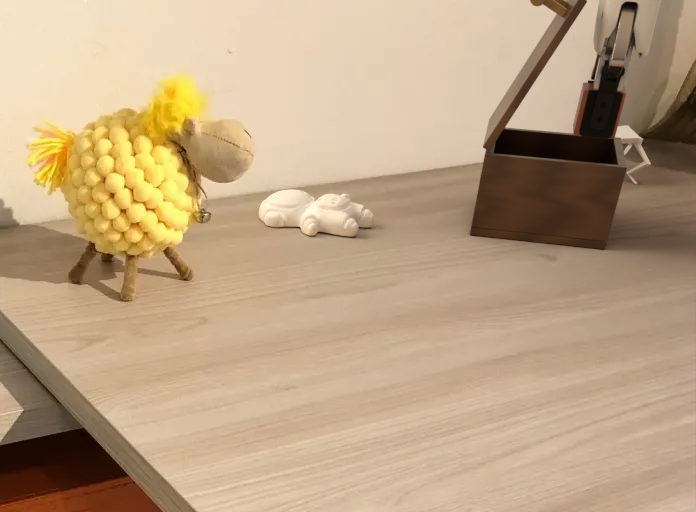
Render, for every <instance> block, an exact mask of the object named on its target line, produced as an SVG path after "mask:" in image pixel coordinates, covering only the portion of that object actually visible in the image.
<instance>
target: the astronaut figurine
mask: <svg viewBox="0 0 696 512" xmlns="http://www.w3.org/2000/svg"><path fill="white" fill-rule="evenodd" d="M258 218H259V220H260V221H261V222H263V223H264V225H266V226H267V227H270V228H284V227H288V228H290V227H292V228H294V227H295V228H296V227H297V228H300V230H301V232H302V233H303V234H305V235H307V236H310V237H311V236H312V237H313V236H316V235H317V233H326V234H331V235H335V236H342V237H355V236H356V235H357V233H358V232H359V228H372V227H373V225H374V222H375V215H374V213H373V212H372V211H371V209H368V208H366V206H365V205H364V204H360V203H356V202H354V201H352V196H351V195H350V194H347V193H342V194H341V195H340V194H337V193H326V194H323V195H321V196H320V197H318V198H317V199H315V197H314V196H311V195H310V194H309V193H308V192H307V191H304V190H301V189H294V188H293V189H283V190H278V191H275V192H274V193H272V194H270V195H269V196H268V197H267V198H266V199H263V201H262V202H261V203H260V206H259V209H258Z"/></svg>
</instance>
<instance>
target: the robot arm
mask: <svg viewBox="0 0 696 512" xmlns="http://www.w3.org/2000/svg"><path fill="white" fill-rule="evenodd" d="M661 3H662V0H598V5H597V10H596V17H595V24H594V32H593V41H592V42H593V48H594V51H595V53H596V55H595V59H594V63H593V66H592V70H591V75H590V80H589V79H588V80H587V83H594V84H593V88H592V90H589V92H588V96H587V101H586V105H585V109H584V113H583V117H582V121H581V125H580V130H579V134H580V135H581V136H587V137H598V138H611V137H612V135H613V132H614V128H615V124H616V120H617V117H618V113H619V109H620V105H621V101H622V97H623V93H622V91H623V87H625V83H626V78H627V74H628V70H629V66H630V62H631V57H632V54H633V50H635V52H636V53H637V56H638V58H639V59H642V60H643V59H645V58H646V57H647V56H648V55H649V53H650V50H651V45H652V42H653V41H652V40H653V37H654V31H655V27H656V24H657V20H658V16H659V11H660V8H661Z"/></svg>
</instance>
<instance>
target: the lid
mask: <svg viewBox="0 0 696 512" xmlns="http://www.w3.org/2000/svg"><path fill="white" fill-rule="evenodd" d="M529 2H530V3H531V5H532V6H533V7H540V6H545V7H546V8H548V9H549V10H550V11H552V12H553V13H554V14H555V15H554V17H553V19H552V20H551V22H550V24H549V25H548V26H547V28H546V30H544V33H543V34H542V36H541V37H540V39H539V41H538V42H537V44H536V45H535V47H534V49H533V50H532V52H531V53H530V54H529V56H528V58H527V60H526V61H525V62H524V64H523V66H522V67H521V69H520V70H519V72H518V74H517V75H516V76H515V77H514V80H513V81H512V83H511V85H510V86H509V87H508V88H507V90H506V92H505V93H504V95H503V97H502V99H501V100H500V101H499V103H498V105H497V106H496V108H495V110H494V111H493V113H492V114H491V115H490V117H489V118H488V123H487V128H486V132H485V136H484V140H483V146H482V148H483V149H484V150H485V151H486V150H488V151H490V149H491V148H492V146H493V145H494V143H495V142H496V140H497V139H498V137H499V136H500V134H501V133H502V131H503V130H504V128H507V125H508V124H509V122H510V120H511V119H512V117H513V116H514V114H515V113H516V111H517V110H518V108H519V107H520V105H521V104H522V102H523V101H524V99H525V98H526V96H527V95H528V93H529V91H530V90H531V89H532V87H533V85H535V83H536V81H537V79H538V78H539V77H540V75H541V73H542V72H543V70H544V68H545V67H546V65H547V64H548V62H549V61H550V59H551V58H552V56H553V55H554V54H555V52H556V51H557V49H558V47H559V46H560V44H561V43H562V41H563V39H565V37H566V36H567V34H568V32H569V30H570V29H571V27H572V26H573V24H574V23H575V22H576V20H577V18H578V17H579V15H580V14H581V12H582V11H583V9H584V8H585V6H586V4H587V3H588V0H529Z"/></svg>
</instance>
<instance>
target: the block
mask: <svg viewBox="0 0 696 512" xmlns="http://www.w3.org/2000/svg"><path fill="white" fill-rule="evenodd" d="M593 84H594V83H588V82H582V86H581V91H580V95H579V98H578V102H577V106H576V110H575V115H574V118H573V124H572V127H573V128H572V131H573V132H572V133H573V135H580V134H579V130H580V125H581V121H582V117H583V113H584V109H585V105H586V101H587V96H588V92H589V90H592V88H593ZM622 93H623V97H622V101H621V105H620V109H619V113H618V117H617V120H616V124H615V128H614V132H613V135H612V137H611V138H615V135H616V131H617V128H618V126H619V123H620V119H621V116H622V113H623V108H624V104H625V100H626V97H627V91H626V88H625V86H624V87H623V91H622Z"/></svg>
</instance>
